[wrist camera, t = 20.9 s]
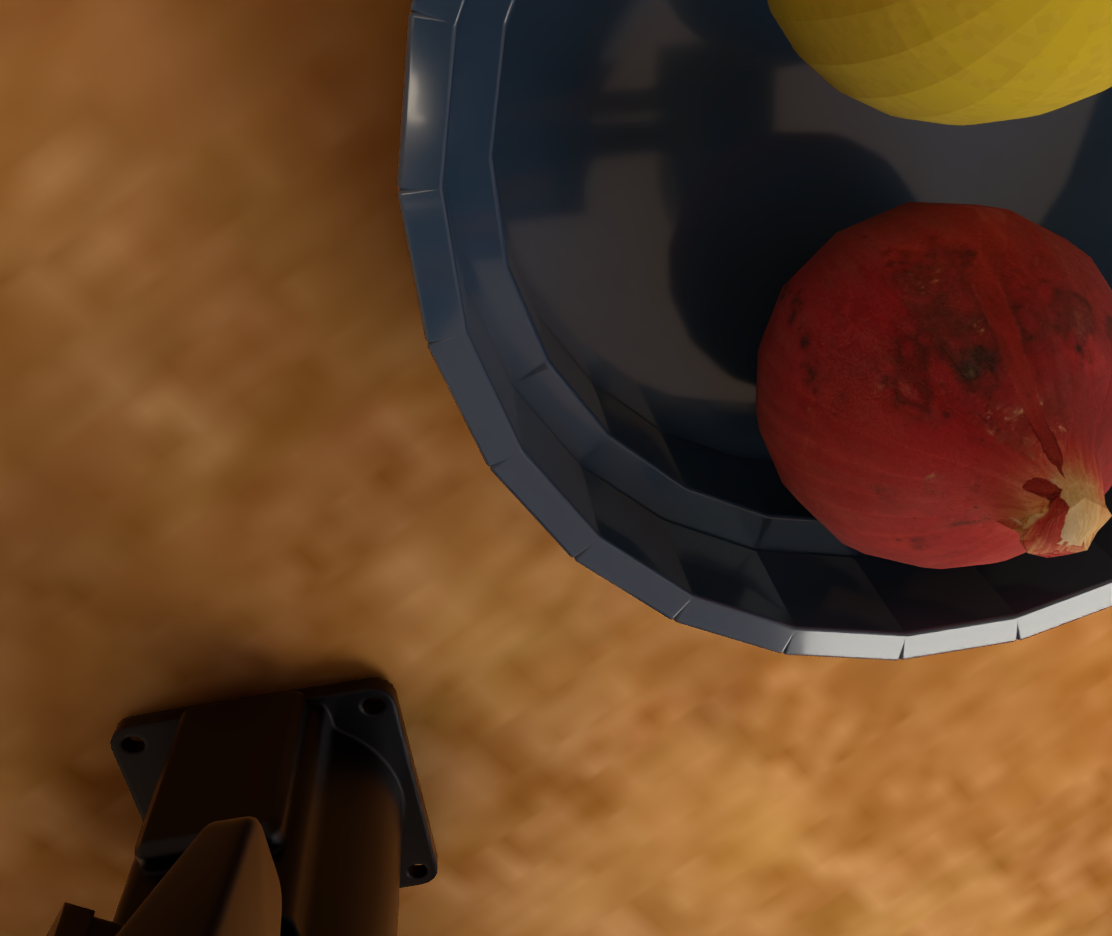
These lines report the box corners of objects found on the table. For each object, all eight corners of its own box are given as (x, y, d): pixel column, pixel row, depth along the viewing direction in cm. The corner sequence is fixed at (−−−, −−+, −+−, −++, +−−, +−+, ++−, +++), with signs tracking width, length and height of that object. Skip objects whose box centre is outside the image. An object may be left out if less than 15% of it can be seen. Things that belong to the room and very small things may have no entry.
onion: (666, 244, 19) (802, 422, 12) (958, 109, 18) (1292, 207, 11) (761, 488, 21) (922, 753, 14) (1020, 376, 21) (1321, 596, 14)
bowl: (1195, 444, 22) (1403, 579, 18) (487, 555, 22) (500, 726, 17) (1390, -513, 15) (1851, -741, 10) (317, -378, 14) (252, -549, 9)
